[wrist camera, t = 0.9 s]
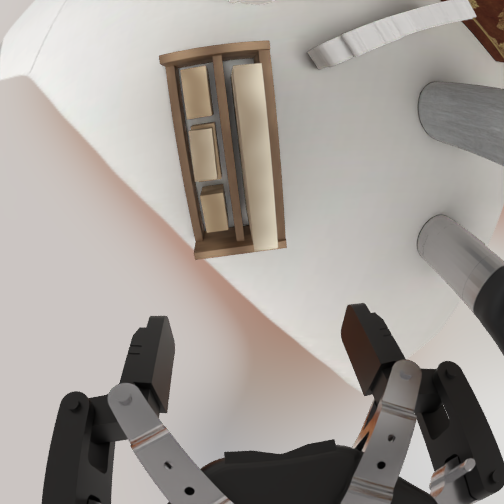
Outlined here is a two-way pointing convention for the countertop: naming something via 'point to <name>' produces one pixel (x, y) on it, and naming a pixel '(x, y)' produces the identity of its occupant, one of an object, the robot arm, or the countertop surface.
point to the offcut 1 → (196, 92)
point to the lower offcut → (214, 145)
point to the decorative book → (488, 25)
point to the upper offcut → (203, 154)
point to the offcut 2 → (214, 208)
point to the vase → (465, 117)
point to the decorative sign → (389, 31)
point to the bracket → (252, 1)
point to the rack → (238, 236)
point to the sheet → (255, 153)
